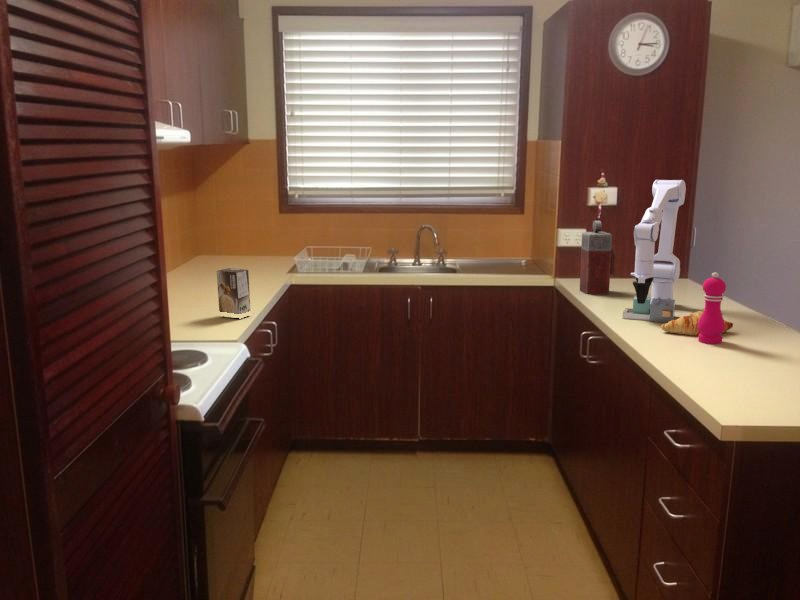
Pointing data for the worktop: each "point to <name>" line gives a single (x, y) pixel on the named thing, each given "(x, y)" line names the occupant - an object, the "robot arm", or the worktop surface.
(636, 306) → the teal block with knob
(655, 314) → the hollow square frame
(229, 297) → the coffee box
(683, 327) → the croissant
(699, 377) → the worktop surface
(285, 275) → the worktop surface
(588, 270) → the red canister
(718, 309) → the pepper mill
